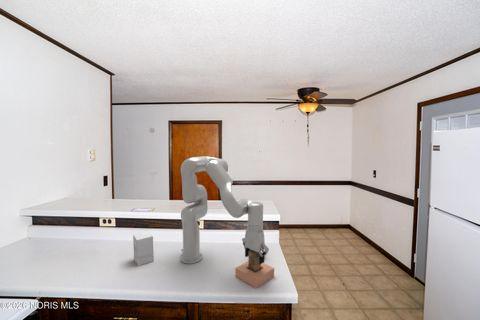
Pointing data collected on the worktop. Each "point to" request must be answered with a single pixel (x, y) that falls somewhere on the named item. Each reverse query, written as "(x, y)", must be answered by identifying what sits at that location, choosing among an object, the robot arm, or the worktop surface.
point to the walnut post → (254, 261)
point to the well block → (254, 274)
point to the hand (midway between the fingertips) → (254, 259)
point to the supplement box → (143, 248)
